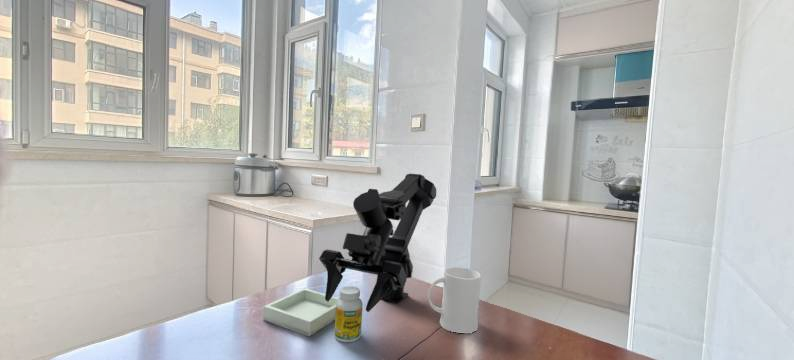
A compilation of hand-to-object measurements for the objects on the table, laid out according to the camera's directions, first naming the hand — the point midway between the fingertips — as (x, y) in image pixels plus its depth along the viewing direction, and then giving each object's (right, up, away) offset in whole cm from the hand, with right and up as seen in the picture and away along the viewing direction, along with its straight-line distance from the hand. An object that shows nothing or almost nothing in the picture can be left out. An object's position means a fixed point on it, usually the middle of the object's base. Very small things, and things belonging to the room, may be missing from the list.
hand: (346, 305), depth 67 cm
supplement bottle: (0, -7, +2) cm, 7 cm away
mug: (+22, -8, +10) cm, 26 cm away
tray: (-10, -6, +9) cm, 15 cm away
